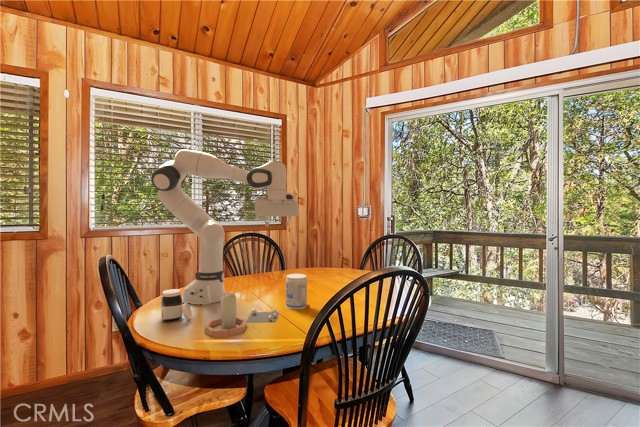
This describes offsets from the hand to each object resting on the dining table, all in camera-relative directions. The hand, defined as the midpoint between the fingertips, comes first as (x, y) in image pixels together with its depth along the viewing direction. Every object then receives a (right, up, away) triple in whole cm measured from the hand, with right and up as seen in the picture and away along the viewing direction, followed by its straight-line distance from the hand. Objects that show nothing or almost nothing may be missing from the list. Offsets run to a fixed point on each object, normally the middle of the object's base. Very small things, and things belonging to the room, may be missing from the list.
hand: (277, 226), depth 148 cm
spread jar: (-39, -38, -17) cm, 57 cm away
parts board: (-3, -38, -17) cm, 41 cm away
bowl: (-15, -38, -29) cm, 50 cm away
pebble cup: (-14, -37, -28) cm, 49 cm away
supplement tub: (+9, -37, -3) cm, 39 cm away
